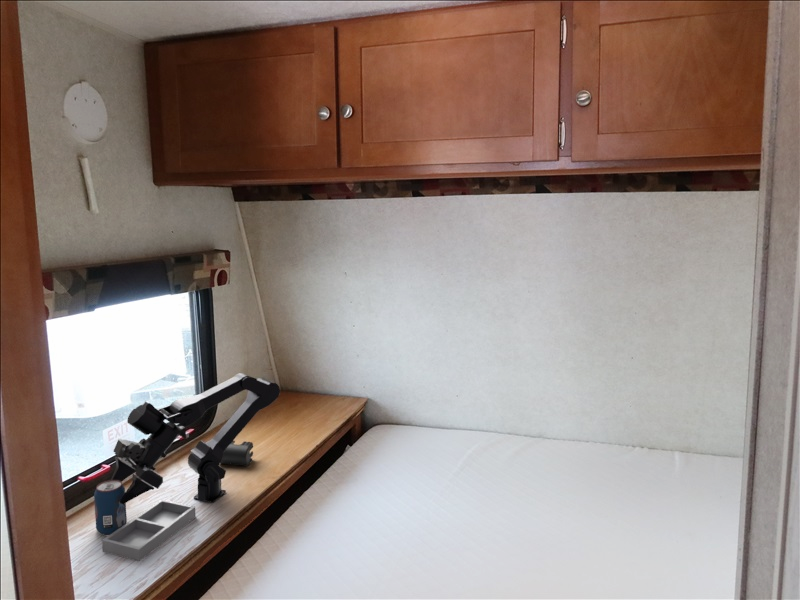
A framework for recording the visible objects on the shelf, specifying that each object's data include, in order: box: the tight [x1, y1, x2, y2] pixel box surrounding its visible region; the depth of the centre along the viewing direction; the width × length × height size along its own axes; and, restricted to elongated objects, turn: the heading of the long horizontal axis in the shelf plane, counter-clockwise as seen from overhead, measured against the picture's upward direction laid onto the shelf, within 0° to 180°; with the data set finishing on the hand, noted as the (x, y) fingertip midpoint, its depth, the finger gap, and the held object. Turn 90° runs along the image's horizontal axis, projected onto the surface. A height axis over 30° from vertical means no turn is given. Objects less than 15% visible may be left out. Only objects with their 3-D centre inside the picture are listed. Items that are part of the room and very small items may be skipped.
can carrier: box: [101, 499, 197, 562], centre depth 146 cm, size 20×11×3 cm, turn 162°
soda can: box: [93, 479, 128, 536], centre depth 146 cm, size 7×7×12 cm
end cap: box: [220, 440, 254, 467], centre depth 185 cm, size 10×7×7 cm
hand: (114, 495), depth 146 cm, fingers open, 9 cm apart
